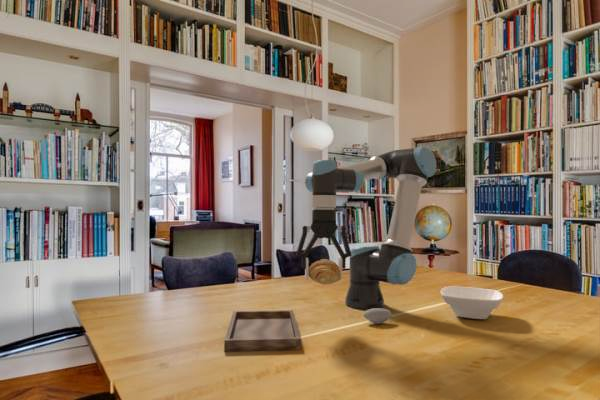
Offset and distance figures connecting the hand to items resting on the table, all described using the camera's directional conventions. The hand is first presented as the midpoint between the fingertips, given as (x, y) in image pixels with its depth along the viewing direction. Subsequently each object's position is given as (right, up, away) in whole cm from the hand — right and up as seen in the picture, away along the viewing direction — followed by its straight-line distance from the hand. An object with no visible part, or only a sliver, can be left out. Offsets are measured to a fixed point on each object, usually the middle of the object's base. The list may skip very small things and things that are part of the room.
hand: (323, 278), depth 125 cm
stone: (+18, -16, +7) cm, 26 cm away
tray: (-19, -16, -5) cm, 25 cm away
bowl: (+54, -17, +16) cm, 58 cm away
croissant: (0, -1, 0) cm, 1 cm away
